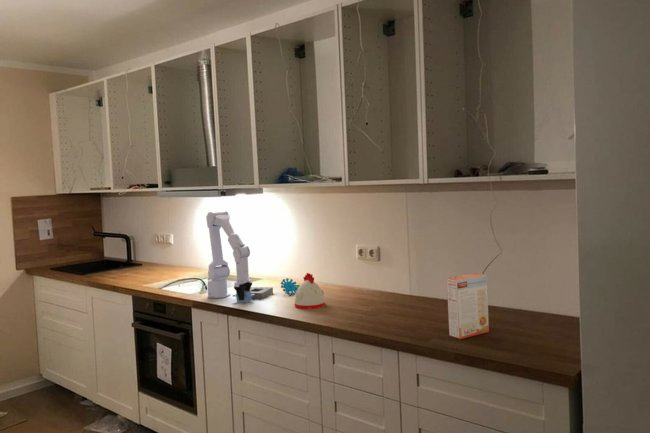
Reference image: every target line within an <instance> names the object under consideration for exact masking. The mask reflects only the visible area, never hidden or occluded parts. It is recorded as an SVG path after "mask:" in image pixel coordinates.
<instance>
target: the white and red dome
mask: <svg viewBox="0 0 650 433" xmlns="http://www.w3.org/2000/svg"><path fill="white" fill-rule="evenodd" d="M294 297H295V298H294V308H296V309H300V310H314V309H320V308H323V307H325V306H326V300H325V293H324V289H323V288H321V287H320V286H319V285H318V284H317V282H315V277H313V274H311V273H309V272H306V274H304V277H303V282H302V283H301V284H300V287H298V290H297V292H295V293H294Z"/></svg>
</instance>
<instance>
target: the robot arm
mask: <svg viewBox="0 0 650 433" xmlns="http://www.w3.org/2000/svg"><path fill="white" fill-rule="evenodd" d="M206 225H207V228H208V231H209V239H210V246H211V247H210V249H211V256H212V260H211V262H210V263H209V264H208V271H207V273H208V274H207V275H208V277H209V280H208V281H207V284H206V286H207V298H214V299H215V298H216V299H217V298H218V299H219V298H220V299H224V298H227V297H229V296H230V295H231V293H228V278H229V276H230V274H231V270H230V267H229V263H228V262H227V261H225V259H224V255H223V249H222V248H223V247H222V238H221V232H220V231H221V228H222V229H223V231H224V233H225V234H226V235H227V241H228V243H229V245H230V247H231V249H232V250H233V251H232V255H233V258H234V262H235V268H236V269H235V270H236V281H235V282H233V283H234V285H233V289H234V290H235V291H236V292H237V295H238V298H239V300H244V291H250V288H251V287H253V282H252V277H250V276H249V275H250V274H249V259H248V258H249V256H250V254H251V251H250V248H249V246H248V245H246V244H245V243H243V241H242V239H241V237H240V235H239V234H238V233H235V230H234V229H233V227H232V224H231V222H230V215H229V212H228V211H227V210H226V209H225V210H217V211H209V212H207V215H206Z"/></svg>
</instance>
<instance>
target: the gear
mask: <svg viewBox="0 0 650 433" xmlns="http://www.w3.org/2000/svg"><path fill="white" fill-rule="evenodd" d="M280 285H281V286H280V288H281V289H282V290H283V292H285V293H286V294H287V295H289V294H290V295H295V292H297V290H298V288H299V287H300V285H301V284H297V281H294V279H292V278H290V280H289V278H288V277H286V278H285V279H284V278H283V279H282V280H281V282H280ZM290 292H291V293H290Z"/></svg>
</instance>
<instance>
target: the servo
mask: <svg viewBox="0 0 650 433" xmlns="http://www.w3.org/2000/svg"><path fill="white" fill-rule="evenodd" d="M254 295H255V294H251V291H244V300H239V298H238V295H237V292H236V293H234V294H232V297H236V298H235V299H236V303H237V302H238V303H237V304H239V303H243V304H248V303H250V302H252V299H251V297H252V296H254Z"/></svg>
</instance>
